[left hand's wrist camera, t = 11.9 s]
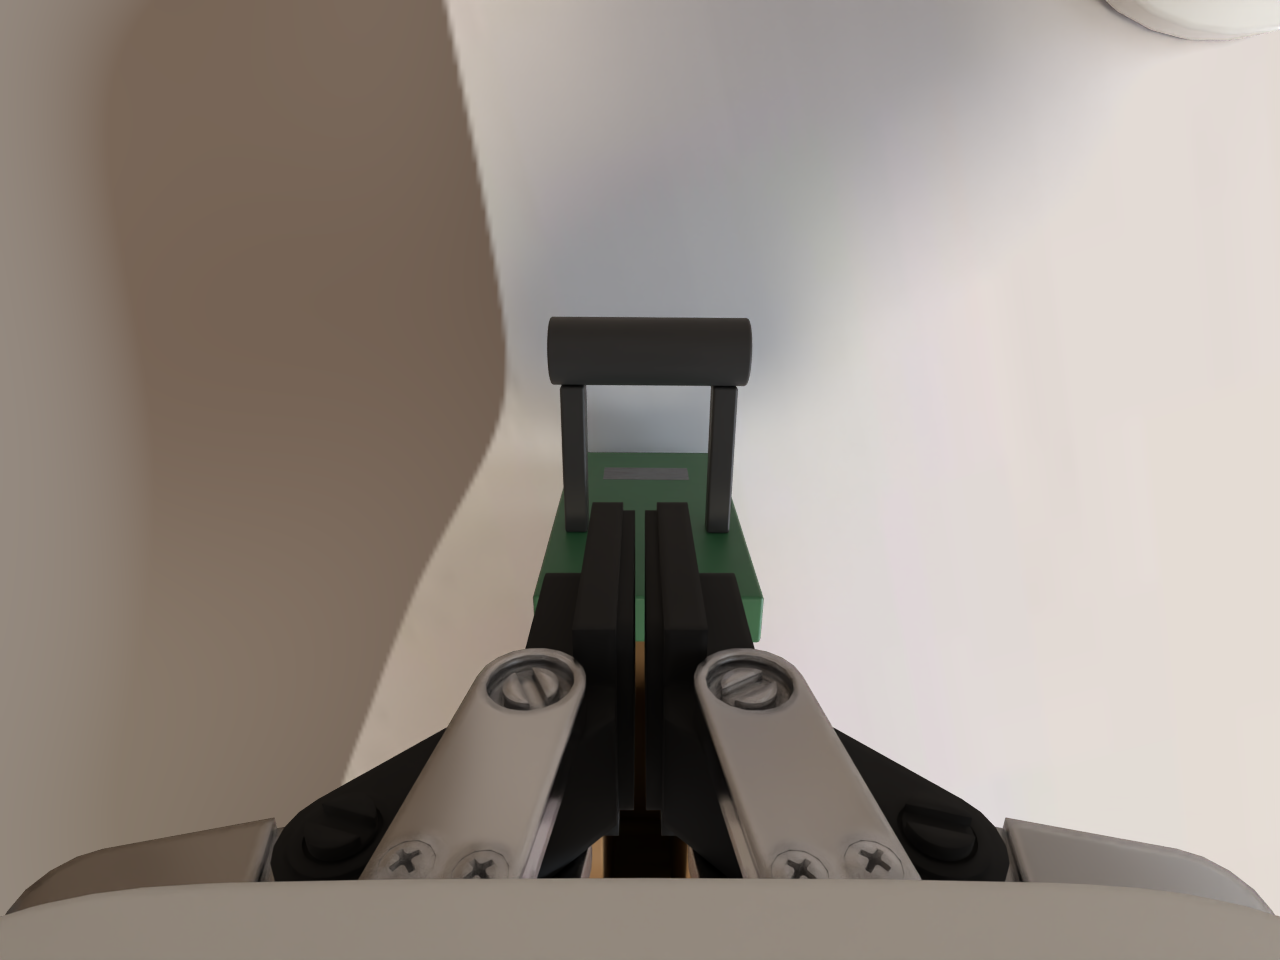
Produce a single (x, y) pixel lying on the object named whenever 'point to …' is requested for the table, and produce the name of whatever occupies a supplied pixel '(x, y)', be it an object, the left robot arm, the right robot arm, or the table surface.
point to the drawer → (650, 503)
